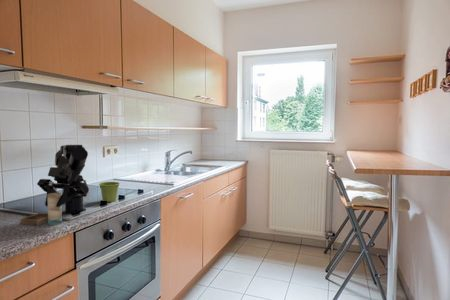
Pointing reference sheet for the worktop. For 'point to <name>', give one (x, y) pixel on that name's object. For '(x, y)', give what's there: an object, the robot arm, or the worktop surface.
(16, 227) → the worktop surface
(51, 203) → the birch sleeve
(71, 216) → the worktop surface
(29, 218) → the walnut socket tray
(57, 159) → the robot arm
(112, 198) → the plant pot
